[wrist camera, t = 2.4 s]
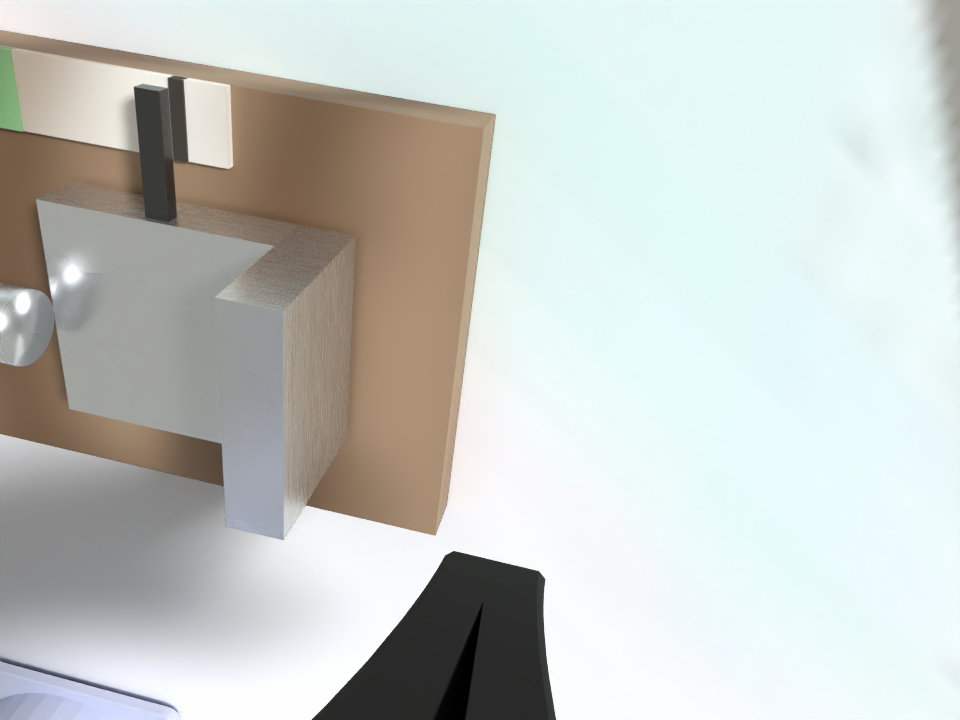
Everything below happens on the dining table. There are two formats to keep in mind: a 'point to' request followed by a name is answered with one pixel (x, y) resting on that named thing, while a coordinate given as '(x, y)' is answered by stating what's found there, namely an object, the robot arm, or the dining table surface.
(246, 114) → the gauge frame
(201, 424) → the brushed steel block
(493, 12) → the dining table surface
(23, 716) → the robot arm
